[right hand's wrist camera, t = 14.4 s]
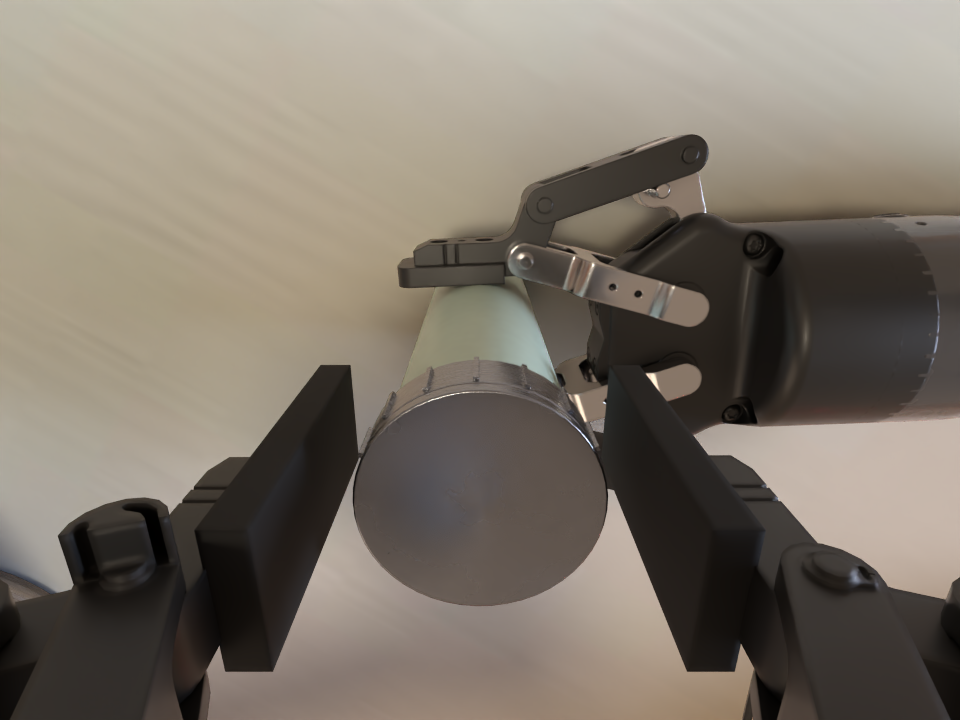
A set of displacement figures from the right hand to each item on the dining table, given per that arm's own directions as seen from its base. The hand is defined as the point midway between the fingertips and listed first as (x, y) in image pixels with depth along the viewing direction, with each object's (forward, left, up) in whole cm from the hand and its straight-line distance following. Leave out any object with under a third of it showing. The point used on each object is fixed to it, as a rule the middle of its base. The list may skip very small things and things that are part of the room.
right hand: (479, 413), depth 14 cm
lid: (0, 0, +4) cm, 4 cm away
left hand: (-2, -1, -7) cm, 7 cm away
